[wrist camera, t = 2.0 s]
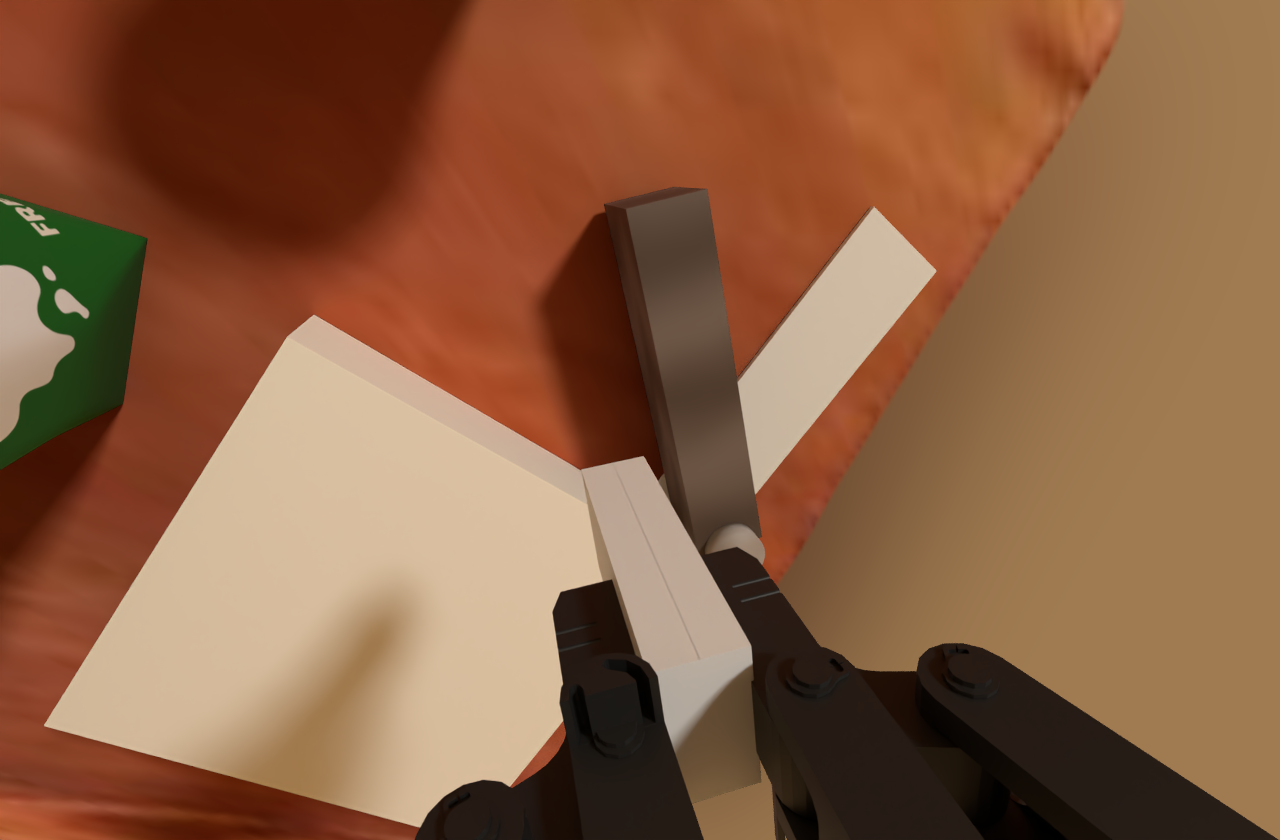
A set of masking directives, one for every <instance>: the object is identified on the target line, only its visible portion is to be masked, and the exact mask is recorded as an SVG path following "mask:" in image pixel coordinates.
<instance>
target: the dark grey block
mask: <svg viewBox="0 0 1280 840" xmlns="http://www.w3.org/2000/svg"><path fill="white" fill-rule="evenodd" d="M604 206H605V211H606V215H607V219H608V224H609V228H610V233H611V237H612V242H613V246H614V251H615V255H616V260H617V264H618V269H619V273H620V278H621V282H622V287H623V291H624V296H625V300H626V305H627V309H628V314H629V318H630V323H631V327H632V332H633V336H634V341H635V345H636V349H637V354H638V358H639V363H640V367H641V372H642V376H643V381H644V385H645V390H646V394H647V399H648V403H649V408H650V412H651V417H652V421H653V426H654V430H655V435H656V439H657V444H658V448H659V453H660V457H661V462H662V466H663V470H664V475H665V479H666V484H667V488H668V493H669V497H670V502H671V505H672V507H673V509H674V510H675V512H676V514H677V516H678V517H679V519H680V521H681V523H682V524H683V526H684V528H685V530H686V531H687V533H688V535H689V537H690V539H691V540H692V542H693V544H694V546H695V547H696V549H697V551H698V553H699V554H700V556H701V555H705V554H709V553H713V552H717V551H721V550H725V549H729V548H734V547H738V548H740V549H742V550H744V551H745V552H747V553H749V554H750V555H752V556H754V557H755V558H757V559H758V560H759V562H760V563H761V565H762V564H763V561H764V557H765V550H764V546H763V544H762V543H761V541H760V540H759V539H758V538H760V537H762V535H761V528H760V522H759V516H758V509H757V503H756V497H755V490H754V484H753V477H752V471H751V465H750V458H749V452H748V446H747V439H746V433H745V427H744V420H743V414H742V407H741V401H740V395H739V388H738V382H737V376H736V369H735V363H734V356H733V350H732V344H731V337H730V331H729V325H728V318H727V312H726V305H725V299H724V293H723V286H722V280H721V274H720V267H719V261H718V254H717V248H716V242H715V235H714V229H713V223H712V216H711V210H710V203H709V197H708V191H707V189H699V188H681V187H672V188H668V189H664V190H660V191H656V192H651V193H647V194H643V195H639V196H635V197H631V198H627V199H623V200H619V201H615V202H611V203H606V204H604Z"/></svg>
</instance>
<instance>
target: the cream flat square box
mask: <svg viewBox="0 0 1280 840" xmlns="http://www.w3.org/2000/svg"><path fill="white" fill-rule="evenodd" d="M599 582H603V580H602V576H601V573H600V569H599V565H598V559H597V554H596V548H595V543H594V538H593V532H592V527H591V521H590V516H589V510H588V505H587V499H586V494H585V488H584V483H583V477H582V472H581V470H579V469H577V468H576V467H574V466H572V465H571V464H569V463H567V462H565V461H564V460H562V459H560V458H559V457H557V456H555V455H553V454H552V453H550V452H548V451H547V450H545V449H543V448H541V447H540V446H538V445H536V444H535V443H533V442H531V441H529V440H528V439H526V438H524V437H523V436H521V435H519V434H518V433H516V432H514V431H512V430H511V429H509V428H507V427H506V426H504V425H502V424H500V423H499V422H497V421H495V420H494V419H492V418H490V417H488V416H487V415H485V414H483V413H482V412H480V411H478V410H476V409H475V408H473V407H471V406H470V405H468V404H466V403H464V402H463V401H461V400H459V399H458V398H456V397H454V396H452V395H451V394H449V393H447V392H446V391H444V390H442V389H440V388H439V387H437V386H435V385H434V384H432V383H430V382H428V381H427V380H425V379H423V378H422V377H420V376H418V375H416V374H415V373H413V372H411V371H410V370H408V369H406V368H404V367H403V366H401V365H399V364H398V363H396V362H394V361H392V360H391V359H389V358H387V357H386V356H384V355H382V354H380V353H379V352H377V351H375V350H374V349H372V348H370V347H368V346H367V345H365V344H363V343H362V342H360V341H358V340H356V339H355V338H353V337H351V336H350V335H348V334H346V333H344V332H343V331H341V330H339V329H338V328H336V327H334V326H332V325H331V324H329V323H327V322H326V321H324V320H322V319H320V318H319V317H317V316H315V315H313V316H312V317H310V318H309V319H308V320H307V321H306V322H304V323H303V324H302V325H301V326H300V327H298V328H297V329H296V330H295V331H294V332H292V333H291V334H290V335H289V336H287V338H286V339H285V341H284V343H283V344H282V346H281V347H280V349H279V351H278V352H277V354H276V355H275V357H274V359H273V360H272V362H271V363H270V365H269V367H268V368H267V370H266V371H265V373H264V375H263V376H262V378H261V379H260V381H259V383H258V384H257V386H256V387H255V389H254V391H253V392H252V394H251V395H250V397H249V399H248V400H247V402H246V403H245V405H244V407H243V408H242V410H241V411H240V413H239V415H238V416H237V418H236V419H235V421H234V423H233V424H232V426H231V427H230V429H229V431H228V432H227V434H226V435H225V437H224V439H223V440H222V442H221V443H220V445H219V446H218V448H217V450H216V451H215V453H214V454H213V456H212V458H211V459H210V461H209V462H208V464H207V466H206V467H205V469H204V470H203V472H202V474H201V475H200V477H199V478H198V480H197V482H196V483H195V485H194V486H193V488H192V490H191V491H190V493H189V494H188V496H187V498H186V499H185V501H184V502H183V504H182V506H181V507H180V509H179V510H178V512H177V514H176V515H175V517H174V518H173V520H172V522H171V523H170V525H169V526H168V528H167V530H166V531H165V533H164V534H163V536H162V538H161V539H160V541H159V542H158V544H157V546H156V547H155V549H154V550H153V552H152V554H151V555H150V557H149V558H148V560H147V562H146V563H145V565H144V566H143V568H142V570H141V571H140V573H139V574H138V576H137V578H136V579H135V581H134V582H133V584H132V586H131V587H130V589H129V590H128V592H127V594H126V595H125V597H124V598H123V600H122V602H121V603H120V605H119V606H118V608H117V610H116V611H115V613H114V614H113V616H112V617H111V619H110V621H109V622H108V624H107V625H106V627H105V629H104V630H103V632H102V633H101V635H100V637H99V638H98V640H97V641H96V643H95V645H94V646H93V648H92V649H91V651H90V653H89V654H88V656H87V657H86V659H85V661H84V662H83V664H82V665H81V667H80V669H79V670H78V672H77V673H76V675H75V677H74V678H73V680H72V681H71V683H70V685H69V686H68V688H67V689H66V691H65V693H64V694H63V696H62V697H61V699H60V701H59V702H58V704H57V705H56V707H55V709H54V710H53V712H52V713H51V715H50V717H49V718H48V720H47V721H46V723H45V725H44V726H46V727H49V728H53V729H57V730H61V731H64V732H68V733H72V734H75V735H79V736H83V737H86V738H90V739H94V740H98V741H101V742H105V743H109V744H112V745H116V746H120V747H124V748H127V749H131V750H135V751H138V752H142V753H146V754H149V755H153V756H157V757H161V758H164V759H168V760H172V761H175V762H179V763H183V764H187V765H190V766H194V767H198V768H201V769H205V770H209V771H212V772H216V773H220V774H224V775H227V776H231V777H235V778H238V779H242V780H246V781H250V782H253V783H257V784H261V785H264V786H268V787H272V788H275V789H279V790H283V791H287V792H290V793H294V794H298V795H301V796H305V797H309V798H313V799H316V800H320V801H324V802H327V803H331V804H335V805H338V806H342V807H346V808H350V809H353V810H357V811H361V812H364V813H368V814H372V815H376V816H379V817H383V818H387V819H390V820H394V821H398V822H401V823H405V824H409V825H413V826H416V827H421V825H422V823H423V821H424V819H425V818H426V816H427V814H428V813H429V812H430V811H431V809H432V808H433V807H434V806H435V805H436V804H437V803H438V802H439V801H440V800H441V799H442V798H443V797H444V796H446V795H447V794H449V793H451V792H452V791H454V790H456V789H457V788H459V787H460V786H462V785H464V784H468V783H472V782H476V781H480V780H491V781H500V782H503V783H504V784H506V785H508V786H509V787H510V786H511V785H512V783H513V782H514V781H515V780H516V778H517V777H518V776H519V775H520V773H521V772H522V771H523V770H524V769H525V767H526V766H527V765H528V764H529V762H530V761H531V760H532V759H533V757H534V756H535V755H536V754H537V752H538V751H539V750H540V749H541V748H542V746H543V745H544V744H545V743H546V741H547V740H548V739H549V738H550V736H551V735H552V734H553V733H554V731H555V730H556V729H557V728H558V726H559V725H560V724H561V723H562V722H563V717H562V713H561V708H560V704H559V701H560V692H561V687H562V685H563V681H562V674H561V668H560V661H559V654H558V648H557V641H556V634H555V627H554V621H553V614H552V611H553V609H554V606H555V604H556V602H557V599H558V597H559V594H560V592H562V591H566V590H570V589H574V588H578V587H582V586H586V585H591V584H595V583H599Z"/></svg>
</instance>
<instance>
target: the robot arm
mask: <svg viewBox="0 0 1280 840" xmlns="http://www.w3.org/2000/svg"><path fill="white" fill-rule="evenodd" d="M581 472H582V477H583V483H584V488H585V494H586V499H587V505H588V510H589V516H590V521H591V527H592V532H593V538H594V543H595V548H596V554H597V559H598V565H599V569H600V573H601V576H602V580H603V582H599V583H595V584H591V585H586V586H582V587H578V588H574V589H570V590H566V591H562V592H560V594H559V597H558V599H557V602H556V604H555V606H554V609H553V611H552V614H553V621H554V627H555V634H556V641H557V648H558V654H559V661H560V668H561V674H562V681H563V685H562V687H561V692H560V701H559V704H560V708H561V713H562V717H563V721H564V725H565V730H566V736H565V740H564V742H563V744H562V745H561V747H560V749H559V751H558V752H557V754H556V755H555V756H554V757H553V758H552V759H551V761H550V762H549V763H548V764H547V765H546V766H544V767H543V768H542V769H541V770H539V771H538V772H537V773H535V774H534V775H532V776H531V777H529V778H528V779H526V780H524V781H523V782H521V783H520V784H518V785H516V786H515V787H513V788H511V787H509V786H508V785H506V784H504V783H503V782H500V781H491V780H480V781H476V782H472V783H468V784H464V785H462V786H460V787H459V788H457V789H456V790H454V791H452V792H451V793H449V794H447V795H446V796H444V797H443V798H442V799H441V800H440V801H439V802H438V803H437V804H436V805H435V806H434V807H433V808H432V809H431V811H430V812H429V813H428V814H427V816H426V818H425V819H424V821H423V823H422V825H421V827H420V829H419V831H418V833H417V835H416V838H415V840H704V839H703V836H702V833H701V830H700V827H699V824H698V821H697V818H696V815H695V812H694V809H693V806H692V803H696V802H699V801H702V800H705V799H708V798H712V797H715V796H718V795H721V794H724V793H728V792H731V791H734V790H737V789H740V788H744V787H747V786H750V785H753V784H756V783H760V782H761V771H760V761H761V763H762V765H763V767H764V769H765V771H766V773H767V775H768V778H769V779H770V782H771V784H772V792H773V806H774V823H775V836H776V840H785V836H786V838H787V840H1278V839H1277V838H1275V837H1274V836H1272V835H1270V834H1269V833H1267V832H1266V831H1264V830H1263V829H1261V828H1260V827H1258V826H1257V825H1255V824H1254V823H1252V822H1251V821H1249V820H1247V819H1246V818H1245V817H1243V816H1242V815H1240V814H1239V813H1237V812H1236V811H1234V810H1232V809H1231V808H1229V807H1228V806H1226V805H1225V804H1223V803H1222V802H1220V801H1219V800H1217V799H1216V798H1214V797H1213V796H1211V795H1210V794H1208V793H1207V792H1205V791H1204V790H1202V789H1200V788H1199V787H1198V786H1196V785H1194V784H1193V783H1191V782H1190V781H1188V780H1187V779H1185V778H1184V777H1182V776H1181V775H1179V774H1178V773H1176V772H1175V771H1173V770H1172V769H1170V768H1169V767H1167V766H1166V765H1164V764H1163V763H1161V762H1160V761H1158V760H1156V759H1155V758H1153V757H1152V756H1150V755H1149V754H1147V753H1146V752H1144V751H1143V750H1141V749H1140V748H1138V747H1137V746H1135V745H1134V744H1132V743H1131V742H1129V741H1128V740H1126V739H1125V738H1123V737H1121V736H1120V735H1118V734H1117V733H1115V732H1114V731H1112V730H1111V729H1109V728H1108V727H1106V726H1105V725H1103V724H1102V723H1100V722H1099V721H1097V720H1096V719H1094V718H1092V717H1091V716H1090V715H1088V714H1087V713H1085V712H1083V711H1082V710H1080V709H1079V708H1077V707H1076V706H1074V705H1073V704H1071V703H1070V702H1068V701H1067V700H1065V699H1064V698H1062V697H1061V696H1059V695H1058V694H1056V693H1054V692H1053V691H1052V690H1050V689H1048V688H1047V687H1045V686H1044V685H1042V684H1041V683H1039V682H1038V681H1036V680H1035V679H1033V678H1032V677H1030V676H1029V675H1027V674H1026V673H1024V672H1023V671H1021V670H1020V669H1018V668H1017V667H1015V666H1014V665H1012V664H1011V663H1009V662H1007V661H1006V660H1004V659H1003V658H1001V657H999V656H997V655H995V654H993V653H991V652H989V651H987V650H985V649H983V648H980V647H976V646H971V645H967V644H963V643H959V644H958V643H951V644H950V643H949V644H941V645H938V646H935V647H932V648H929V649H928V650H927V651H926V652H925V653H924V654H923V655H922V656H921V657H920V658H919V661H918V667H917V671H916V672H915V671H910V672H909V671H906V672H904V671H898V672H896V671H895V672H894V671H893V672H892V671H887V672H885V671H883V672H880V671H868V670H862V669H858V668H855V667H854V666H853V665H852V664H851V663H850V662H849V661H848V660H846V659H845V657H843V656H842V655H840V654H838V653H836V652H834V651H832V650H829V649H827V648H824V647H820V645H819V644H818V643H817V642H816V640H815V639H814V638H813V636H812V635H811V633H810V632H809V630H808V629H807V628H806V626H805V625H804V623H803V622H802V621H801V619H800V618H799V616H798V615H797V614H796V612H795V611H794V609H793V608H792V607H791V605H790V604H789V602H788V601H787V600H786V598H785V597H784V595H783V594H782V593H780V591H779V588H778V587H777V586H776V584H775V583H774V581H773V580H772V579H770V577H769V574H768V573H767V572H766V570H765V569H764V567H763V566H762V565H761V563H760V562H759V560H758V559H757V558H755V557H754V556H752V555H750V554H749V553H747V552H745V551H744V550H742V549H740V548H738V547H734V548H729V549H725V550H721V551H717V552H713V553H709V554H705V555H701V556H700V554H699V553H698V551H697V549H696V547H695V546H694V544H693V542H692V540H691V539H690V537H689V535H688V533H687V531H686V530H685V528H684V526H683V524H682V523H681V521H680V519H679V517H678V516H677V514H676V512H675V510H674V509H673V507H672V505H671V503H670V502H669V500H668V498H667V496H666V494H665V493H664V491H663V489H662V487H661V486H660V484H659V482H658V480H657V479H656V477H655V475H654V473H653V472H652V470H651V468H650V466H649V465H648V463H647V461H646V459H645V458H644V456H642V457H637V458H632V459H628V460H623V461H618V462H614V463H609V464H605V465H600V466H595V467H591V468H586V469H581Z"/></svg>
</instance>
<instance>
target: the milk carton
mask: <svg viewBox="0 0 1280 840" xmlns="http://www.w3.org/2000/svg"><path fill="white" fill-rule="evenodd" d="M146 244H147V238H145V237H142V236H139V235H135V234H132V233H129V232H125V231H122V230H119V229H116V228H112V227H109V226H106V225H102V224H99V223H96V222H92V221H89V220H86V219H83V218H79V217H76V216H73V215H69V214H66V213H63V212H59V211H56V210H53V209H49V208H46V207H43V206H40V205H36V204H33V203H30V202H26V201H23V200H20V199H16V198H13V197H10V196H7V195H3V194H0V470H1V469H3V468H4V467H6V466H8V465H9V464H11V463H13V462H14V461H16V460H17V459H19V458H21V457H22V456H24V455H26V454H27V453H29V452H31V451H32V450H34V449H36V448H37V447H39V446H41V445H42V444H44V443H46V442H47V441H49V440H51V439H52V438H54V437H56V436H58V435H60V434H62V433H64V432H66V431H68V430H70V429H72V428H75V427H77V426H79V425H81V424H83V423H85V422H87V421H89V420H91V419H93V418H95V417H97V416H99V415H101V414H103V413H105V412H107V411H110V410H112V409H114V408H116V407H118V406H120V405H122V404H123V400H124V393H125V387H126V380H127V373H128V366H129V359H130V352H131V346H132V339H133V332H134V325H135V318H136V312H137V305H138V298H139V291H140V284H141V278H142V271H143V264H144V257H145V250H146Z"/></svg>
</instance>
